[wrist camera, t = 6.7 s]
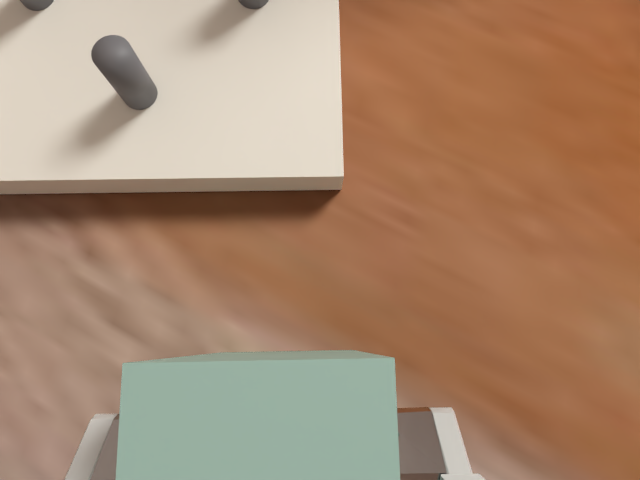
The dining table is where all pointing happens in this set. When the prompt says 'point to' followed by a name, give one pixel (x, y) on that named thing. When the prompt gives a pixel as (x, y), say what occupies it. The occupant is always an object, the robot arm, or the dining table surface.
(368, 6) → the dining table surface
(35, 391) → the dining table surface
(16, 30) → the peg board
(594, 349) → the dining table surface
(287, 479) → the block
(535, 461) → the dining table surface
